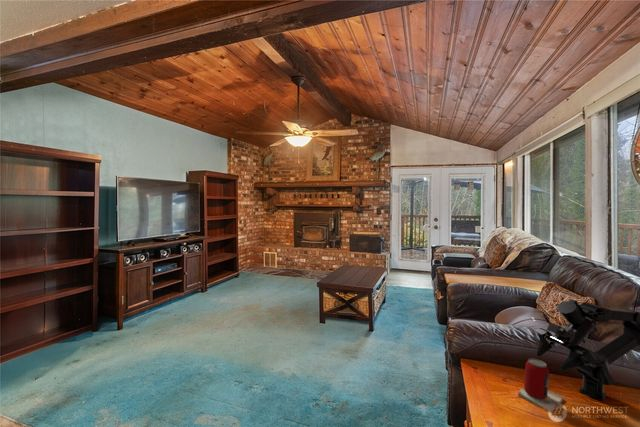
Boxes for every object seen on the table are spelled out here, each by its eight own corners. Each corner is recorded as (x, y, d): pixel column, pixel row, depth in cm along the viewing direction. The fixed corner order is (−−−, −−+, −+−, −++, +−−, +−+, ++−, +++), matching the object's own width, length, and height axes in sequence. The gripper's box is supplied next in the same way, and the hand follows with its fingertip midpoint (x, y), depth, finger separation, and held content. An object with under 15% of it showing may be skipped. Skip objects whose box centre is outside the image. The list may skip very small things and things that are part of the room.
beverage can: (551, 401, 102) (554, 368, 101) (532, 400, 102) (534, 367, 101) (538, 389, 108) (540, 357, 108) (519, 388, 109) (521, 356, 108)
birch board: (529, 384, 113) (529, 381, 113) (563, 399, 105) (563, 396, 105) (516, 395, 106) (516, 392, 106) (551, 413, 97) (551, 409, 97)
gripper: (540, 307, 115) (514, 335, 113) (590, 326, 96) (560, 361, 95) (557, 326, 116) (531, 354, 115) (609, 349, 97) (579, 383, 96)
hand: (548, 362), depth 105 cm, fingers open, 9 cm apart
